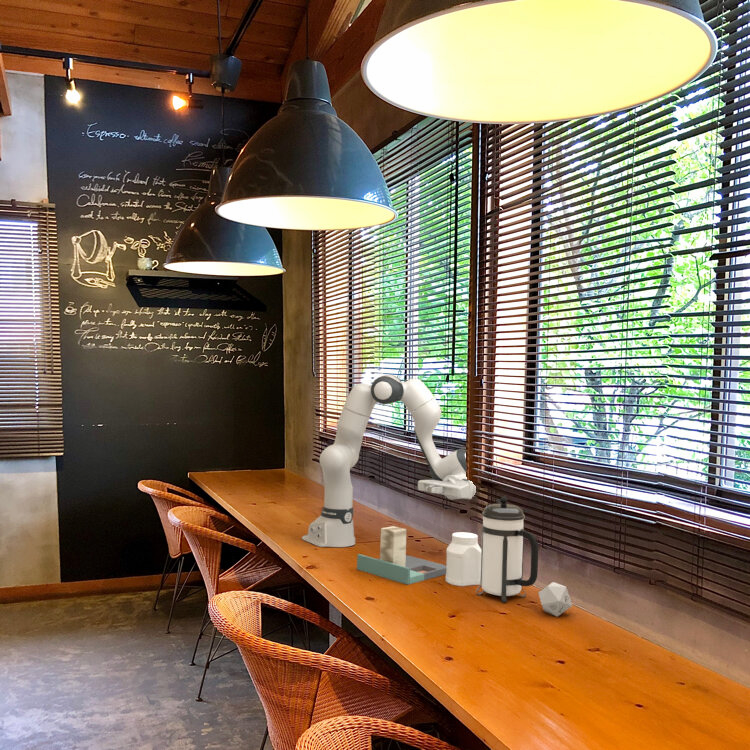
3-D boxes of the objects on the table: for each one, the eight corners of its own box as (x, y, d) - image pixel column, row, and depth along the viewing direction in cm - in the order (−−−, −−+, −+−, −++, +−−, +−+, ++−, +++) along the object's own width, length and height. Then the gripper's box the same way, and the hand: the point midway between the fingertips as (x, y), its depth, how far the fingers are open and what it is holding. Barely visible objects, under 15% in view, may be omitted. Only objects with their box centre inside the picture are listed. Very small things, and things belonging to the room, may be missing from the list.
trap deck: (356, 569, 236) (357, 554, 236) (400, 559, 252) (401, 545, 252) (407, 584, 220) (408, 568, 220) (451, 572, 236) (451, 557, 236)
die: (540, 619, 193) (562, 595, 190) (527, 595, 201) (548, 571, 198) (561, 627, 197) (584, 602, 194) (548, 602, 204) (569, 579, 201)
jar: (454, 587, 219) (456, 539, 219) (440, 578, 228) (442, 532, 228) (486, 584, 224) (488, 537, 224) (471, 576, 233) (473, 530, 233)
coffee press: (476, 602, 204) (479, 499, 205) (475, 586, 220) (478, 491, 221) (536, 607, 202) (540, 503, 202) (532, 590, 218) (534, 494, 218)
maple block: (379, 567, 232) (380, 528, 232) (392, 564, 236) (393, 526, 236) (392, 571, 228) (394, 531, 228) (405, 568, 232) (406, 529, 232)
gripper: (432, 474, 264) (407, 477, 254) (476, 482, 249) (451, 484, 239) (431, 491, 264) (406, 494, 254) (475, 499, 249) (450, 503, 239)
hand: (428, 490), depth 247 cm, fingers closed
